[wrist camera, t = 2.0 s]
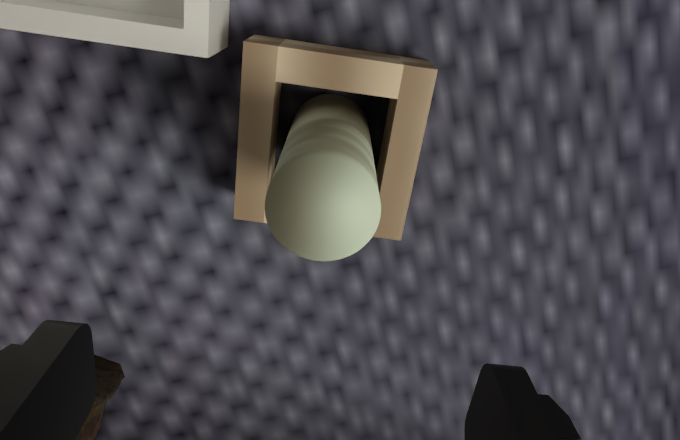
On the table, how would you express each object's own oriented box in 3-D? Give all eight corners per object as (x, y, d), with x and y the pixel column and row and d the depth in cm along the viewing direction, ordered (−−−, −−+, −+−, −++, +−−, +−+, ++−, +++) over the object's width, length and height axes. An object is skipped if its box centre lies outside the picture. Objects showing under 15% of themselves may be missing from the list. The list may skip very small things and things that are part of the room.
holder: (427, 60, 25) (437, 69, 22) (395, 215, 28) (400, 240, 26) (254, 34, 24) (243, 41, 22) (244, 195, 28) (233, 218, 25)
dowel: (374, 99, 26) (390, 163, 17) (362, 172, 27) (370, 267, 18) (296, 87, 25) (269, 146, 16) (288, 162, 27) (260, 253, 18)
